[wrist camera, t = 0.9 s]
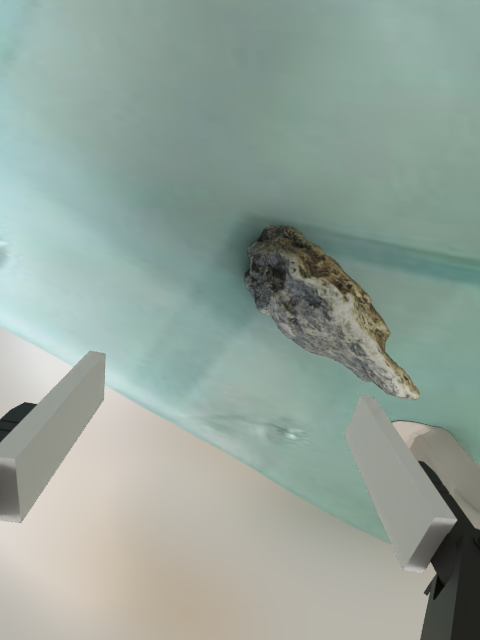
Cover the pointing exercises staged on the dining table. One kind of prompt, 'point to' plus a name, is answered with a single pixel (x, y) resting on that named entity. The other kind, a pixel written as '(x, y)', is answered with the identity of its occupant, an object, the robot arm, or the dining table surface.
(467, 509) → the candle
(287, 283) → the stone block
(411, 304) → the dining table surface
